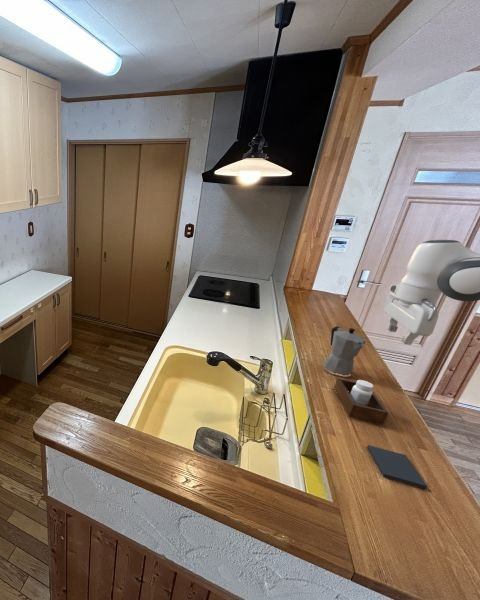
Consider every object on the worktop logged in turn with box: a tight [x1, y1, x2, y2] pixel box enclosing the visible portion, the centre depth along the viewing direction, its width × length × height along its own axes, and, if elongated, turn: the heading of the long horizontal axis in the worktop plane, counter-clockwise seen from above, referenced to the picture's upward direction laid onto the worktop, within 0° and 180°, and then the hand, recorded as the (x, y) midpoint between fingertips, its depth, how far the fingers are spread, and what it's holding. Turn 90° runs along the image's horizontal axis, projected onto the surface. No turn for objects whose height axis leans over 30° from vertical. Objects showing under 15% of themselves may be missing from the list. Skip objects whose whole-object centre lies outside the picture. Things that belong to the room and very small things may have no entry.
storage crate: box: [333, 377, 389, 426], centre depth 103 cm, size 8×16×4 cm, turn 158°
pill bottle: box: [350, 379, 374, 407], centre depth 102 cm, size 5×5×8 cm
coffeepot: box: [321, 325, 367, 379], centre depth 121 cm, size 15×9×18 cm, turn 174°
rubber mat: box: [366, 444, 428, 490], centre depth 81 cm, size 8×10×1 cm
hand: (398, 336), depth 99 cm, fingers open, 8 cm apart
